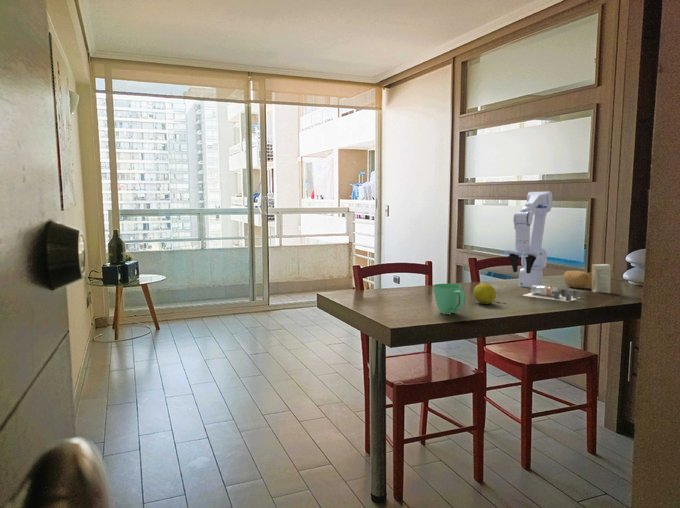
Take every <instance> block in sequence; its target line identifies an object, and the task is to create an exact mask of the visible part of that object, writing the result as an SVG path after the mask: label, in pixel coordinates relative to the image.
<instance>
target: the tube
mask: <svg viewBox="0 0 680 508" xmlns="http://www.w3.org/2000/svg"><path fill="white" fill-rule="evenodd" d="M555 291H560V289H559V287H558V286H552V285H550V286H549V285H542V286H541V285H532V286H531V288H530V293H531V294H535V295H543V296H550V297H554V292H555Z"/></svg>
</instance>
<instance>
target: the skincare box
mask: <svg viewBox="0 0 680 508" xmlns="http://www.w3.org/2000/svg"><path fill="white" fill-rule="evenodd" d="M611 266H612V265H611V264H608V263H600V264H594V263H593V264H591V278H592V279H591V292H593V293H605V294H611V274H612V273H611V272H612V270H611Z"/></svg>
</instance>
